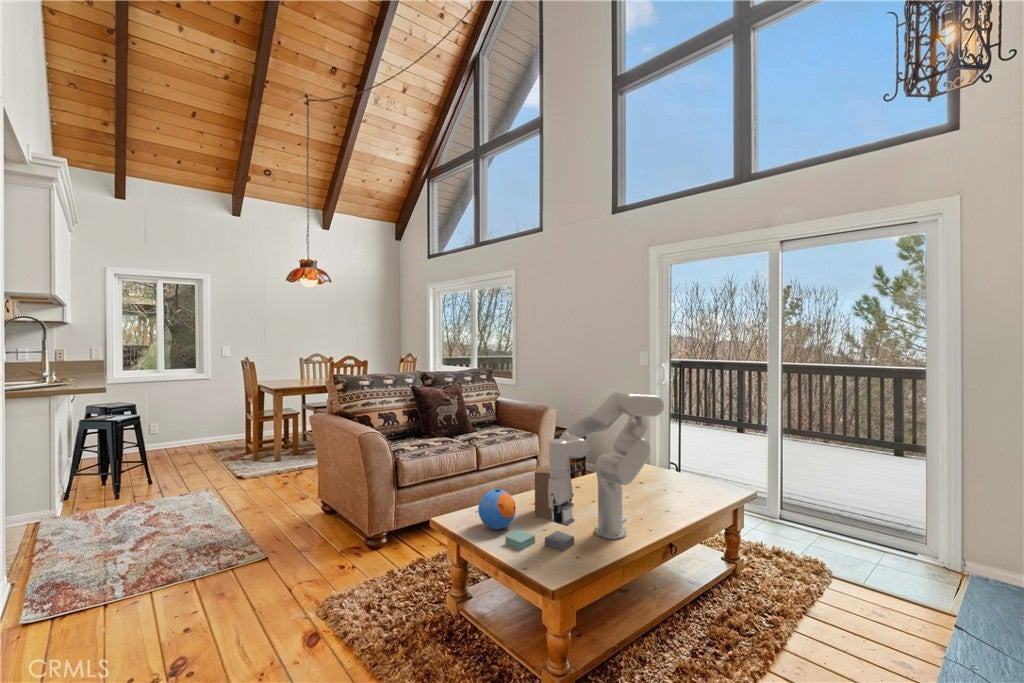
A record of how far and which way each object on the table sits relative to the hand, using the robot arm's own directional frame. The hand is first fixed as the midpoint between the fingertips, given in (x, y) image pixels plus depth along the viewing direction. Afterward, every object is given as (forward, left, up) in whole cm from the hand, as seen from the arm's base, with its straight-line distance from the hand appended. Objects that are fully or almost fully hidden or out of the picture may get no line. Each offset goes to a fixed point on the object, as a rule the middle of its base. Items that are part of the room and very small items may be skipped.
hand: (562, 518), depth 179 cm
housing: (0, 0, -1) cm, 1 cm away
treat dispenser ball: (+5, -30, -10) cm, 32 cm away
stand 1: (+10, -13, -10) cm, 19 cm away
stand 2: (+1, 0, -10) cm, 10 cm away
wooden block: (-20, -23, -10) cm, 32 cm away
